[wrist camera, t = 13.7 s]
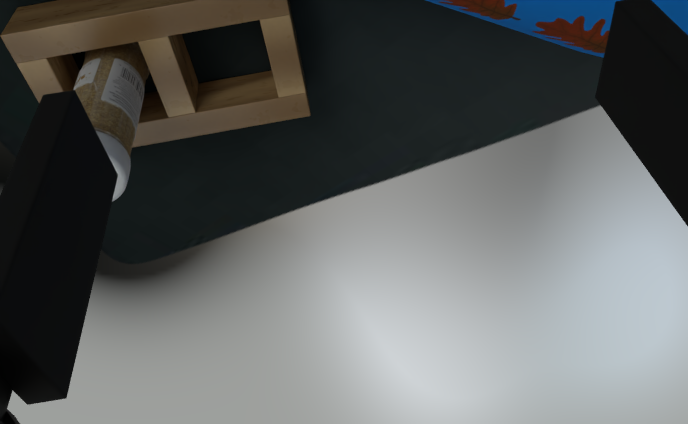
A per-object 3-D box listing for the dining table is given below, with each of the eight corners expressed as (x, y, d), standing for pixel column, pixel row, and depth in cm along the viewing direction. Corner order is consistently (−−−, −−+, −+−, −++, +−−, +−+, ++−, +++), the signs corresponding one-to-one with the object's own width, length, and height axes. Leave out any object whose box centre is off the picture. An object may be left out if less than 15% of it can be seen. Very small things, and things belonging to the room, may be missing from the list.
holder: (17, 7, 41) (-1, 35, 38) (281, -41, 41) (284, -16, 38) (81, 127, 48) (70, 158, 45) (306, 87, 48) (310, 116, 45)
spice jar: (76, 35, 43) (26, 153, 33) (142, 28, 43) (111, 143, 33) (98, 91, 46) (59, 214, 36) (159, 84, 46) (136, 204, 36)
